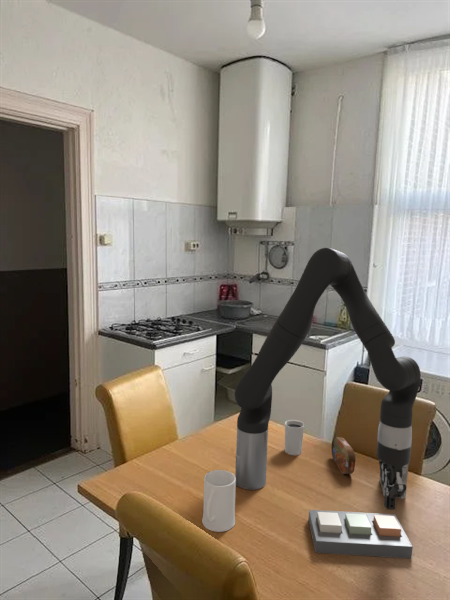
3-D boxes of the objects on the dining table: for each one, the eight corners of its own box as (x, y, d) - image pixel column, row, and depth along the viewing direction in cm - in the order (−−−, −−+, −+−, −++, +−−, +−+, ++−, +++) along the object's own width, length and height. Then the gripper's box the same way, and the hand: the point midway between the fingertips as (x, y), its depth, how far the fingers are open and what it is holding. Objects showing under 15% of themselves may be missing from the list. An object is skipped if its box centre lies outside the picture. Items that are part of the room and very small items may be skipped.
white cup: (304, 456, 148) (305, 428, 146) (284, 455, 148) (286, 427, 147) (301, 447, 154) (302, 420, 153) (282, 446, 154) (283, 419, 153)
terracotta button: (378, 540, 104) (379, 527, 104) (372, 526, 109) (373, 514, 109) (400, 541, 104) (401, 529, 104) (393, 527, 109) (394, 516, 108)
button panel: (315, 552, 102) (316, 540, 101) (308, 520, 114) (309, 509, 113) (411, 558, 101) (412, 546, 100) (394, 525, 112) (395, 514, 112)
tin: (330, 455, 149) (331, 432, 148) (339, 455, 149) (340, 432, 148) (346, 479, 134) (347, 453, 133) (355, 479, 134) (357, 453, 133)
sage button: (349, 538, 104) (350, 526, 104) (344, 525, 109) (345, 513, 109) (370, 539, 104) (371, 527, 104) (364, 526, 109) (365, 514, 109)
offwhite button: (320, 536, 105) (320, 524, 104) (316, 523, 110) (317, 511, 109) (341, 537, 105) (341, 525, 104) (336, 524, 110) (337, 512, 109)
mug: (219, 544, 104) (220, 497, 102) (189, 532, 107) (189, 487, 106) (240, 517, 114) (242, 474, 112) (212, 507, 118) (213, 466, 116)
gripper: (370, 428, 110) (366, 492, 112) (387, 453, 97) (382, 524, 99) (400, 429, 110) (395, 493, 112) (421, 454, 97) (415, 526, 99)
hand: (389, 508), depth 106 cm, fingers closed
